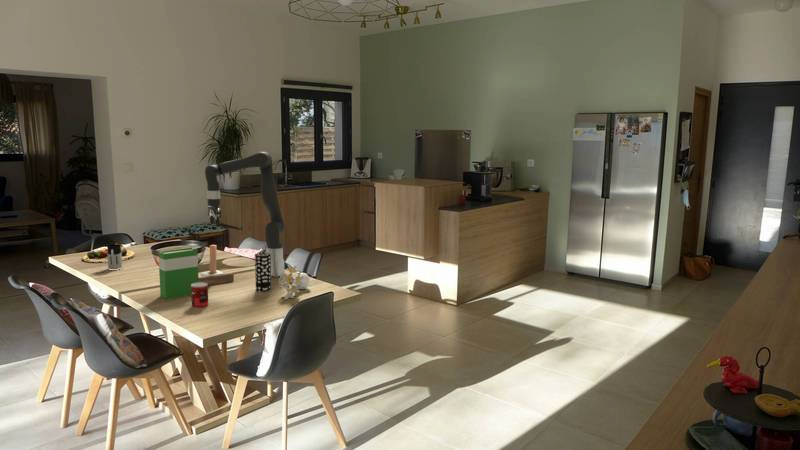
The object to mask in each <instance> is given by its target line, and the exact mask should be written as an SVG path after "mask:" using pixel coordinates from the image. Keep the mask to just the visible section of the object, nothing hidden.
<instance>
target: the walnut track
mask: <svg viewBox="0 0 800 450" xmlns="http://www.w3.org/2000/svg"><path fill="white" fill-rule="evenodd" d="M234 277H235V274H234V272H232V273H224V274H223V275H216V276H209V277H202V278H201V277H199V282H204V283H207V284H208V286H211V285H217V284H224V283H231V282H234V281H235V280H234Z"/></svg>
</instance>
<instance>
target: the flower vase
mask: <svg viewBox="0 0 800 450" xmlns="http://www.w3.org/2000/svg"><path fill="white" fill-rule="evenodd" d="M287 267H288V268H285V270H286V271H287V272H289V273H288V274H287V273H284V271H285V270H284V271H283V270H282V274H281V276H280V277H279V278H278V283H279V284H280V287H282V288H285V290H286V292H287V294H285V295H283V296H282V297H283V298H284V300H288V299H289V298H290V299H291V298H295V297H294V296H295V295H294V293H300V290H305V289H307V288H308V287H309V285H310V283H311V279H310V276H309V275H308V274H307V273H305V272H300V270H298V266H297V265H293V266H292V265H291V264H288V263H287ZM295 274H296V275H295ZM293 275H295V276H293ZM290 286H291V287H290Z"/></svg>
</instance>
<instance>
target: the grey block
mask: <svg viewBox="0 0 800 450" xmlns="http://www.w3.org/2000/svg"><path fill="white" fill-rule="evenodd" d="M223 274H225V272H222V271H220V270H218V269H216V273H215V274H210V270H207V271H201V272H200V278H202V277H209V276H216V275H223Z"/></svg>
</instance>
